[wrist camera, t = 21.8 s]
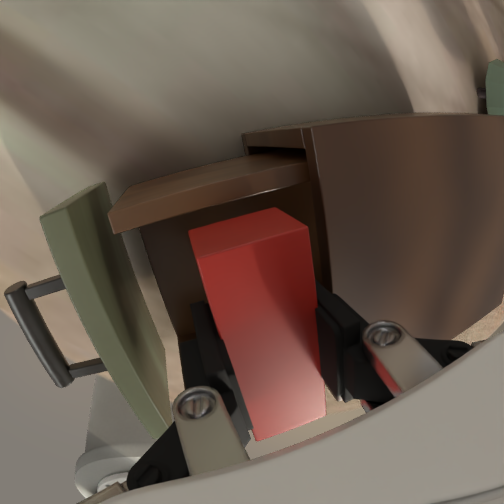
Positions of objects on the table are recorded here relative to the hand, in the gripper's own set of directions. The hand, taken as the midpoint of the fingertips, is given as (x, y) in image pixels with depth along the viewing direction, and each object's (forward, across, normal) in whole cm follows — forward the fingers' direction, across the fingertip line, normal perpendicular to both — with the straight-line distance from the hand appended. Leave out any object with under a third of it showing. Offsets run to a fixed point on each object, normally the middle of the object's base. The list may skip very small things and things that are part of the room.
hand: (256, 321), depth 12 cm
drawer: (+9, +2, 0) cm, 9 cm away
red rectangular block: (0, 0, 0) cm, 0 cm away
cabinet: (+9, -10, 0) cm, 14 cm away
